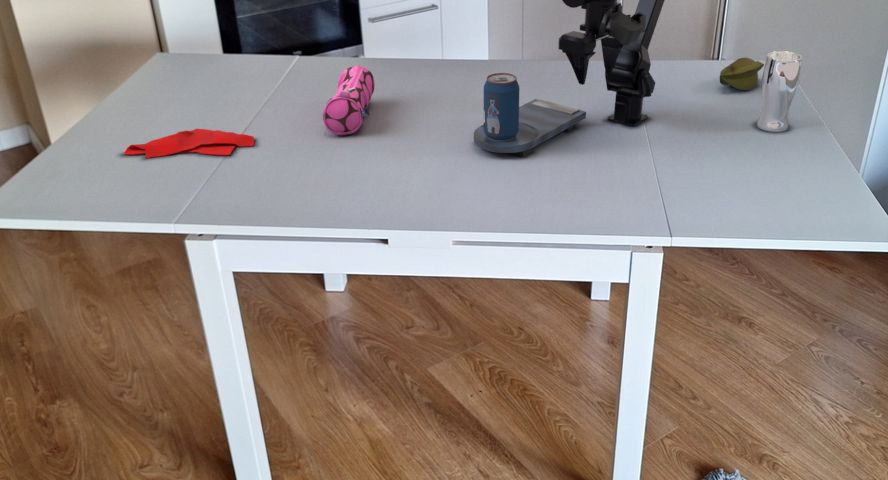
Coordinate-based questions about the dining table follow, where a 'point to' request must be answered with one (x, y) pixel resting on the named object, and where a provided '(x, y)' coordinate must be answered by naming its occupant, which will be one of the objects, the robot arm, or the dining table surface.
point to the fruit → (741, 74)
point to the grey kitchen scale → (533, 127)
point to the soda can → (501, 107)
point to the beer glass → (778, 89)
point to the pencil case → (349, 101)
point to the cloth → (193, 143)
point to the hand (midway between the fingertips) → (595, 78)
